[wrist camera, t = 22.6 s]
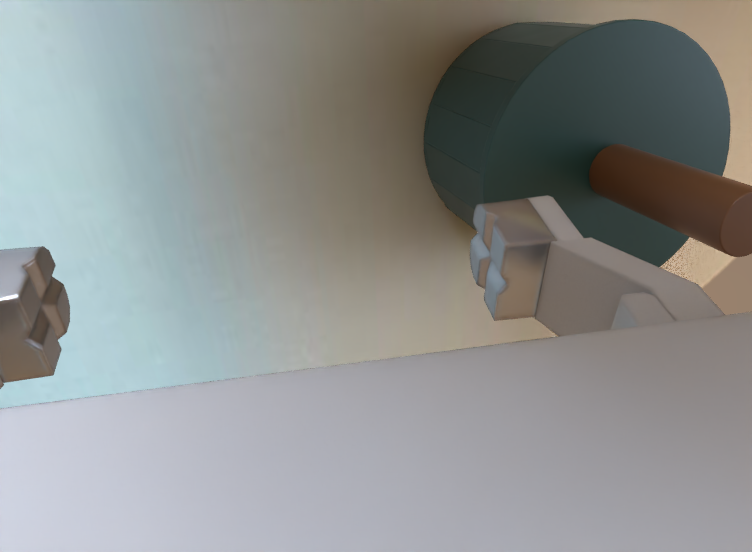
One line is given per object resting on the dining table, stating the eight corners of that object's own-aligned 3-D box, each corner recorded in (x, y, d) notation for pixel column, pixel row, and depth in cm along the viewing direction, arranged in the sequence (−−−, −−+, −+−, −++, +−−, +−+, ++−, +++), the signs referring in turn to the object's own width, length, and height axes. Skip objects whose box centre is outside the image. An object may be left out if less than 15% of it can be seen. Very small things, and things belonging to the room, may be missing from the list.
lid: (438, 89, 30) (549, 128, 21) (700, -28, 31) (910, -39, 22) (512, 329, 37) (620, 436, 28) (724, 224, 38) (893, 293, 29)
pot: (393, 75, 38) (454, 96, 30) (591, -13, 39) (703, -17, 31) (456, 262, 44) (521, 323, 36) (626, 181, 46) (726, 221, 37)
